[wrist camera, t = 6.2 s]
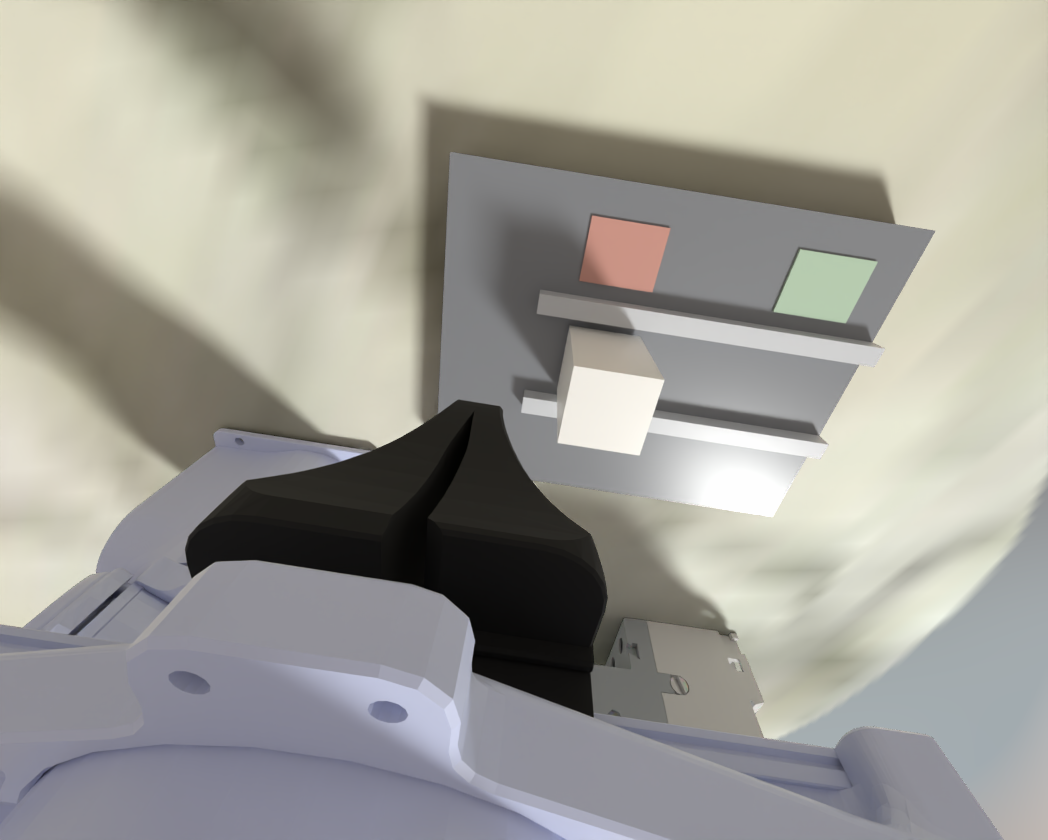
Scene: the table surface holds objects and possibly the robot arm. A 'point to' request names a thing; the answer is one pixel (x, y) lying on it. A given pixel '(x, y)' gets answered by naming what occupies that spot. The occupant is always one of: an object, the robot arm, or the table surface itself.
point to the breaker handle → (606, 391)
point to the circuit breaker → (678, 679)
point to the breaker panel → (663, 321)
